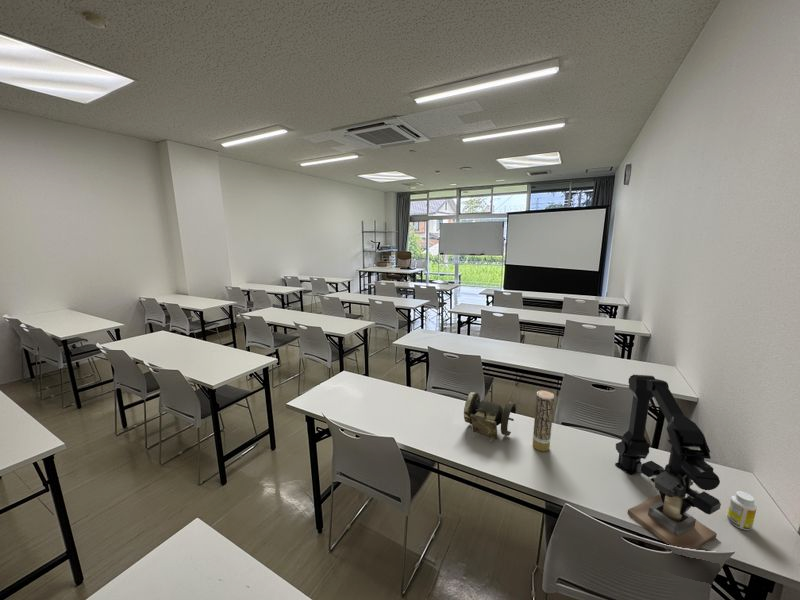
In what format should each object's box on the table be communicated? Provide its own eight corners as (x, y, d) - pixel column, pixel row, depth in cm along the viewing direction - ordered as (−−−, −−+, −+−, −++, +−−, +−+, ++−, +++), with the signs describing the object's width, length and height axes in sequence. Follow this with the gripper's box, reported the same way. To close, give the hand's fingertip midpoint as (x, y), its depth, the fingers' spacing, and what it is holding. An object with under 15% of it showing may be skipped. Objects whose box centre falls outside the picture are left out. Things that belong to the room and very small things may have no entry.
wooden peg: (659, 511, 102) (663, 487, 101) (667, 507, 104) (672, 483, 102) (675, 523, 98) (680, 498, 96) (684, 518, 100) (689, 493, 98)
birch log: (551, 453, 136) (556, 398, 131) (534, 451, 137) (538, 397, 132) (547, 443, 142) (552, 391, 137) (531, 441, 144) (535, 389, 139)
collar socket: (627, 513, 106) (629, 501, 105) (657, 498, 112) (659, 487, 111) (684, 557, 91) (687, 544, 91) (716, 537, 97) (718, 525, 96)
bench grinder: (475, 406, 167) (468, 380, 156) (519, 417, 154) (515, 390, 144) (461, 440, 153) (453, 414, 143) (508, 455, 141) (502, 428, 131)
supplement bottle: (750, 523, 102) (757, 495, 100) (752, 534, 98) (759, 506, 96) (726, 513, 106) (732, 486, 104) (726, 523, 102) (733, 496, 100)
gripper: (631, 452, 103) (625, 494, 106) (703, 495, 86) (693, 543, 89) (653, 444, 107) (647, 484, 110) (726, 483, 90) (716, 529, 93)
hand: (672, 508), depth 101 cm, fingers closed on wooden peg, 4 cm apart
